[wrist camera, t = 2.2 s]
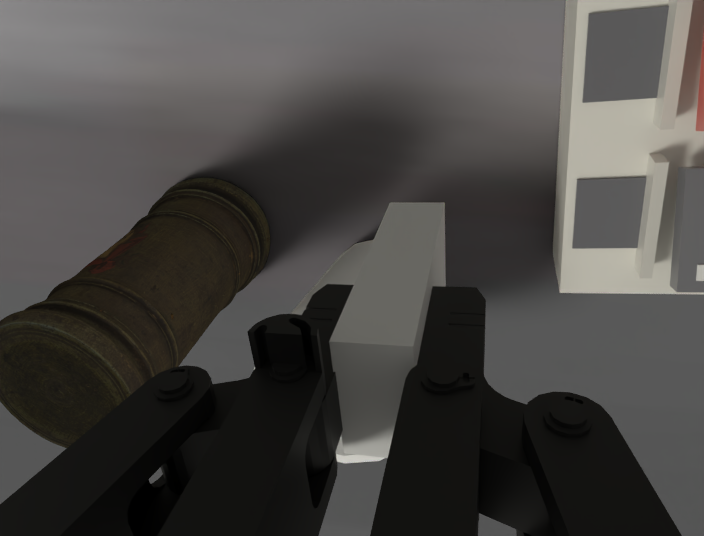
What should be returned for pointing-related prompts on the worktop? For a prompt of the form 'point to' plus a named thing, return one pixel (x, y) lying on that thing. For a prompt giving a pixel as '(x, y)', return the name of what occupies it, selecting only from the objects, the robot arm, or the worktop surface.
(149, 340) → the container
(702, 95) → the plate
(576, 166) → the switch panel
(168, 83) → the worktop surface
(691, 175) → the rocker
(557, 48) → the worktop surface
